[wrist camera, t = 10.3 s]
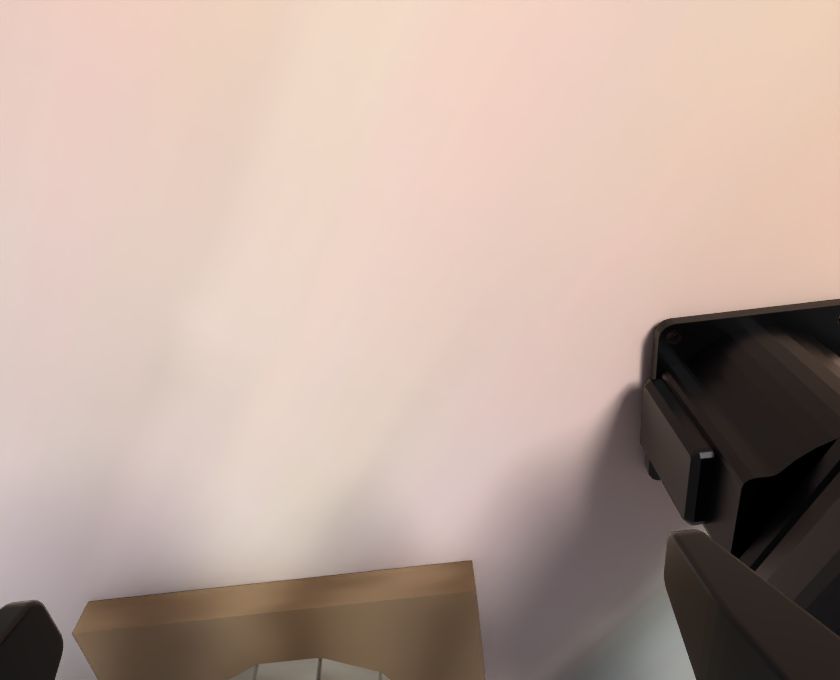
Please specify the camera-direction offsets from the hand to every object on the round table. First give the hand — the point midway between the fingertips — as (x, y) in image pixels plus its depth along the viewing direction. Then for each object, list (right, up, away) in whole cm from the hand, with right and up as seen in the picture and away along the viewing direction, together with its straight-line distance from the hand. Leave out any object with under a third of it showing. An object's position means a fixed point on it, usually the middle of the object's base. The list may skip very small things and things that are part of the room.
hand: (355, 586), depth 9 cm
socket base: (-4, -13, +21) cm, 25 cm away
